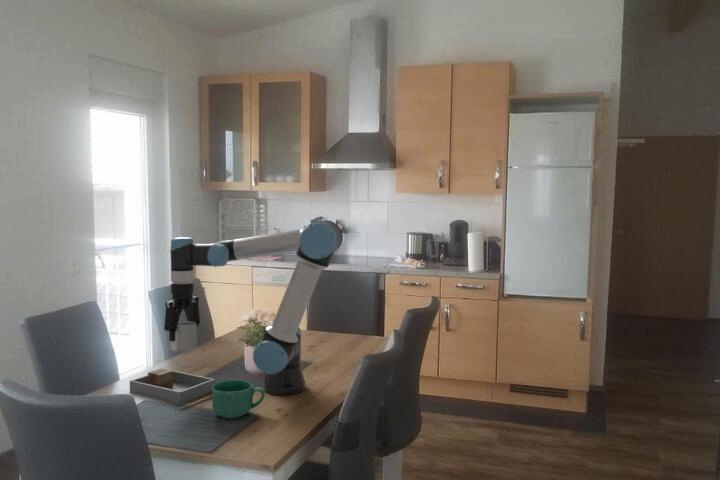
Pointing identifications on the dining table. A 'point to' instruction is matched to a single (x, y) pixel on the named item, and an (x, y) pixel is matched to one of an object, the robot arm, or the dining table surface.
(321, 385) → the dining table surface
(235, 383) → the mug
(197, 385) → the gray tray
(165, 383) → the walnut block
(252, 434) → the dining table surface
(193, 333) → the cup
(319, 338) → the dining table surface
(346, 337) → the dining table surface
